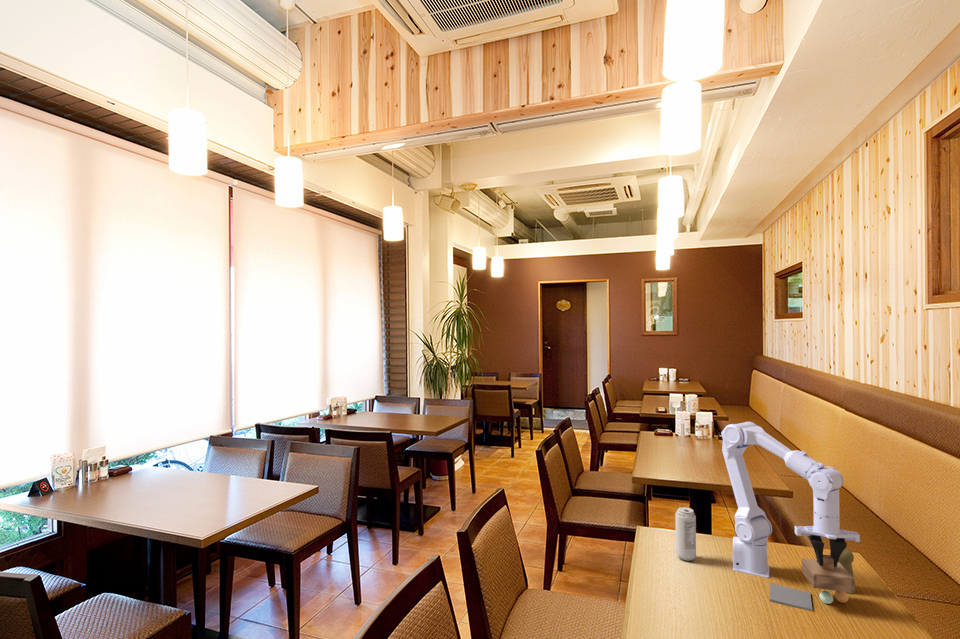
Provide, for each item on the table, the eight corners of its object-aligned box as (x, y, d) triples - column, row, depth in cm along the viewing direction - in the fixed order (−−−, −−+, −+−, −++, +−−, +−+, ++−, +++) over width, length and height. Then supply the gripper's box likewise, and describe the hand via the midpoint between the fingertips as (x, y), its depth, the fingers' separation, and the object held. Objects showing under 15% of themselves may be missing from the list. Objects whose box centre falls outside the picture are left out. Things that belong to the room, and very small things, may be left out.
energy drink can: (687, 551, 161) (687, 505, 161) (700, 559, 155) (699, 512, 156) (671, 553, 160) (671, 507, 160) (684, 562, 154) (683, 514, 154)
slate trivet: (769, 601, 132) (769, 599, 132) (770, 584, 140) (770, 583, 140) (812, 611, 127) (812, 609, 127) (810, 594, 135) (810, 592, 135)
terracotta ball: (835, 603, 131) (834, 591, 131) (833, 597, 134) (833, 586, 134) (849, 606, 129) (849, 594, 129) (847, 600, 132) (847, 589, 132)
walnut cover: (813, 587, 129) (813, 562, 129) (801, 571, 137) (801, 547, 137) (854, 593, 126) (853, 566, 126) (839, 576, 135) (839, 551, 135)
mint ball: (820, 604, 131) (819, 592, 131) (819, 598, 133) (818, 587, 133) (833, 607, 129) (833, 595, 129) (832, 601, 132) (832, 590, 132)
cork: (861, 595, 135) (860, 554, 135) (836, 592, 136) (835, 552, 136) (849, 583, 141) (848, 545, 141) (825, 581, 142) (824, 543, 142)
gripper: (800, 516, 130) (801, 568, 130) (865, 522, 126) (865, 575, 126) (791, 507, 137) (792, 556, 137) (852, 512, 133) (853, 562, 133)
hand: (826, 564), depth 132 cm, fingers closed on walnut cover, 2 cm apart
